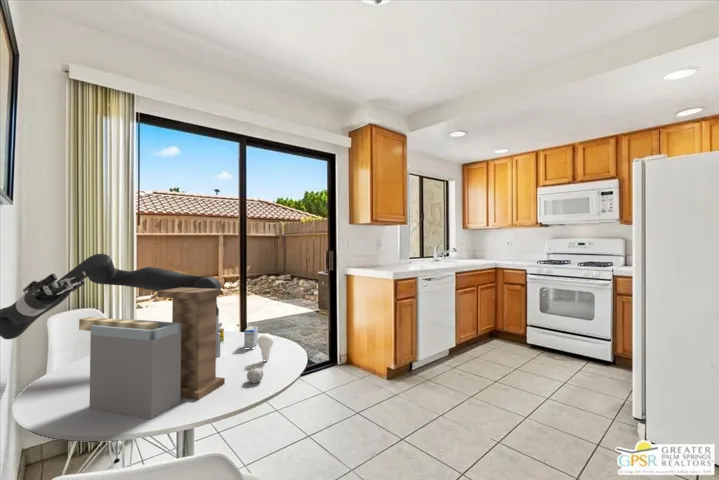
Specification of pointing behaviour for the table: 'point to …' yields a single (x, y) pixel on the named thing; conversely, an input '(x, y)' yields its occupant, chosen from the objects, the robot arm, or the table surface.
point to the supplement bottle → (221, 332)
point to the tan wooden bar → (116, 323)
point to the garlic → (255, 374)
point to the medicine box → (251, 337)
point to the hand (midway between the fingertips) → (70, 274)
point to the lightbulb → (265, 345)
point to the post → (196, 339)
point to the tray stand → (135, 369)
